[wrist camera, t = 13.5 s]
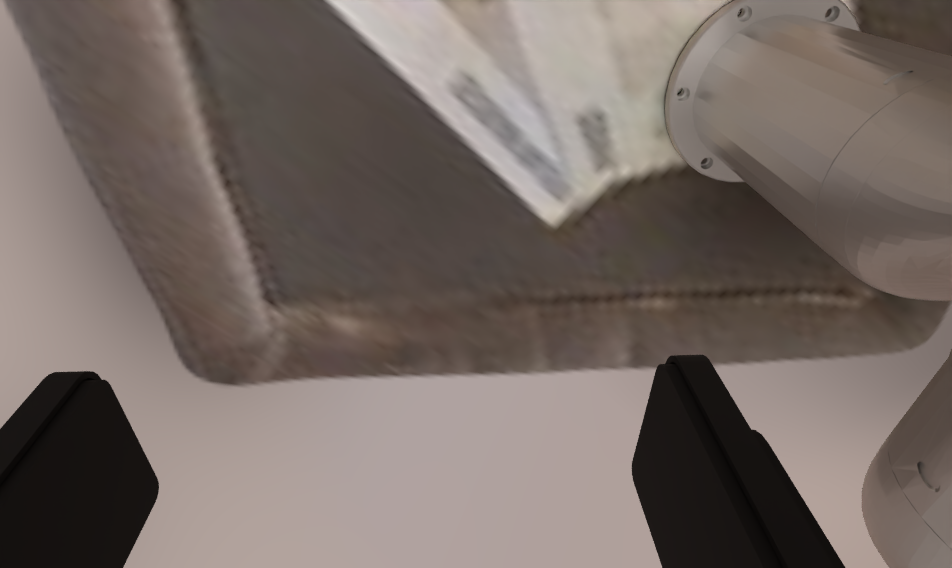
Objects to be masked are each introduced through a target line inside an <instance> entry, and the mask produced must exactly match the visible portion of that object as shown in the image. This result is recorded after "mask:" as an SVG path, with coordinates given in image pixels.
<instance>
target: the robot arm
mask: <svg viewBox="0 0 952 568" xmlns="http://www.w3.org/2000/svg"><path fill="white" fill-rule="evenodd" d="M740 9H742V12H741V14H740V15H739V16H738V12H739V10H740ZM826 12H827V13H826ZM681 88H682V91H681V93H680V94H678V95H677V93H678V91H679V90H680V89H681ZM665 118H666V125H667V131H668V133H669V136H670V139H671V141H672V144H673V146H674V147H675V149H676V150H677V152H678V153H679V155H680V156H681V157H682V158H683V159H684V160H685V161H686V162H687V163H688V164H689V165H690V166H691V167H692V168H694V169H695V170H696V171H698V172H699V173H701V174H703V175H705V176H708V177H710V178H713V179H715V180H720V181H726V182H746V183H747V184H748V185H749V186H750V187H752V188H753V189H754V190H755V191H756V192H757V193H758V194H760V195H761V196H762V197H763V198H764V199H765V200H766V201H768V202H769V203H770V204H771V205H772V206H773V207H774V208H776V209H777V210H778V211H779V212H780V213H781V214H782V215H784V216H785V217H786V218H787V219H788V220H789V221H791V222H792V223H793V224H794V225H795V226H796V227H797V228H799V229H800V230H801V231H802V232H803V233H804V234H805V235H807V236H808V237H809V238H810V239H811V240H812V241H813V242H815V243H816V244H817V245H818V246H819V247H820V248H821V249H823V250H824V251H825V252H826V253H827V254H828V255H830V256H831V257H832V258H834V259H835V260H836V261H837V262H838V263H839V264H841V265H842V266H843V267H844V268H845V269H846V270H848V271H849V272H850V273H851V274H853V275H854V276H855V277H857V278H858V279H860V280H861V281H863V282H864V283H866V284H868V285H870V286H872V287H874V288H876V289H879V290H881V291H884V292H887V293H890V294H893V295H896V296H900V297H905V298H911V299H919V300H931V301H952V56H949V55H945V54H941V53H938V52H934V51H930V50H927V49H923V48H919V47H916V46H912V45H908V44H905V43H901V42H897V41H894V40H890V39H886V38H882V37H879V36H875V35H871V34H868V33H864V32H861V31H860V28H859V26H858V23H857V21H856V18H855V16H854V15H853V14H852V13H851V11H850V10H849V9H848V7H847V6H846V5H845V4H844V3H843V2H842V1H840V0H734V1H732V2H731V3H729V4H727V5H726V6H724V7H723V8H721V9H720V10H719V11H718V12H716V13H715V14H714V15H713V16H712V17H711V18H709V19H708V20H707V21H706V22H705V23H704V24H703V25H702V26H701V27H700V28H699V30H698V31H697V32H696V33H695V34H694V36H693V37H692V38H691V39H690V40H689V42H688V43H687V45H686V47H685V48H684V50H683V52H682V53H681V55H680V56H679V58H678V60H677V63H676V65H675V67H674V70H673V72H672V74H671V77H670V81H669V85H668V89H667V93H666V102H665ZM704 158H705V159H704ZM703 159H704V160H703ZM702 160H703V161H702ZM632 476H633V481H634V484H635V487H636V490H637V493H638V496H639V499H640V502H641V505H642V508H643V511H644V514H645V517H646V520H647V523H648V526H649V529H650V532H651V535H652V538H653V541H654V544H655V547H656V550H657V553H658V556H659V559H660V562H661V565H662V568H845V566H844V565H843V563H842V561H841V560H840V558H839V557H838V555H837V553H836V552H835V550H834V549H833V547H832V545H831V544H830V542H829V540H828V539H827V537H826V536H825V534H824V532H823V531H822V529H821V528H820V526H819V524H818V523H817V521H816V520H815V518H814V516H813V515H812V513H811V511H810V510H809V508H808V507H807V505H806V503H805V502H804V500H803V498H802V497H801V495H800V494H799V492H798V490H797V489H796V487H795V486H794V484H793V482H792V481H791V479H790V477H789V476H788V474H787V473H786V471H785V470H784V468H783V466H782V465H781V463H780V461H779V460H778V458H777V456H776V455H775V453H774V452H773V450H772V448H771V447H770V445H769V444H768V442H767V441H766V440H765V438H764V437H763V436H762V435H761V434H760V433H759V432H757V431H756V430H751V428H750V427H749V425H748V423H747V422H746V420H745V419H744V417H743V415H742V413H741V412H740V410H739V409H738V407H737V405H736V404H735V402H734V400H733V399H732V397H731V396H730V394H729V392H728V390H727V389H726V387H725V385H724V384H723V382H722V380H721V379H720V377H719V375H718V374H717V372H716V370H715V369H714V367H713V365H712V364H711V362H710V360H709V359H708V358H707V357H706V356H704V355H677V356H670V357H669V358H668V359H667V361H666V364H659V365H658V367H657V369H656V372H655V376H654V380H653V384H652V388H651V392H650V396H649V399H648V404H647V407H646V412H645V415H644V419H643V423H642V426H641V430H640V435H639V438H638V442H637V446H636V450H635V453H634V457H633V461H632ZM158 490H159V485H158V479H157V477H156V475H155V473H154V471H153V469H152V467H151V465H150V463H149V461H148V459H147V457H146V455H145V453H144V451H143V449H142V447H141V445H140V443H139V441H138V439H137V437H136V435H135V433H134V431H133V429H132V427H131V425H130V423H129V421H128V419H127V418H126V415H125V414H124V411H123V409H122V407H121V405H120V403H119V401H118V399H117V397H116V395H115V393H114V391H113V390H112V387H111V385H110V384H109V383H108V382H107V381H106V380H101V378H100V377H99V376H98V374H96V373H94V372H90V371H89V372H88V371H87V372H86V371H84V372H54V373H52V374H49V375H48V376H47V377H46V378H45V379H43V380H42V382H41V383H40V384H39V385H38V386H37V387H36V388H35V390H34V391H33V392H32V393H31V394H30V395H29V397H28V398H27V399H26V400H25V401H24V402H23V403H22V405H21V406H20V407H19V408H18V409H17V410H16V411H15V413H14V414H13V415H12V416H11V417H10V418H9V420H8V421H7V422H6V423H5V424H4V425H3V427H2V428H1V429H0V568H123V567H124V565H125V563H126V560H127V558H128V556H129V554H130V552H131V550H132V548H133V546H134V544H135V542H136V540H137V538H138V536H139V534H140V532H141V530H142V528H143V526H144V524H145V522H146V520H147V518H148V516H149V514H150V512H151V510H152V508H153V506H154V504H155V502H156V499H157V495H158ZM862 512H863V517H864V520H865V524H866V526H867V529H868V532H869V535H870V537H871V539H872V541H873V543H874V545H875V547H876V548H877V550H878V552H879V553H880V555H881V556H882V558H883V559H884V561H885V562H886V564H887V565H888V566H889V568H952V350H951V352H950V355H949V357H948V359H947V360H946V362H945V363H944V364H943V365H942V367H941V368H940V369H939V371H938V372H937V373H936V375H935V376H934V377H933V379H932V380H931V381H930V382H929V384H928V385H927V386H926V388H925V389H924V390H923V392H922V393H921V394H920V395H919V397H918V398H917V400H916V401H915V402H914V403H913V405H912V406H911V407H910V409H909V410H908V411H907V413H906V414H905V415H904V417H903V418H902V419H901V420H900V422H899V423H898V425H897V426H896V427H895V428H894V430H893V431H892V432H891V434H890V435H889V437H888V438H887V439H886V441H885V442H884V443H883V445H882V446H881V448H880V449H879V451H878V453H877V454H876V456H875V457H874V459H873V460H872V462H871V464H870V466H869V469H868V471H867V474H866V476H865V479H864V484H863V488H862Z"/></svg>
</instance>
